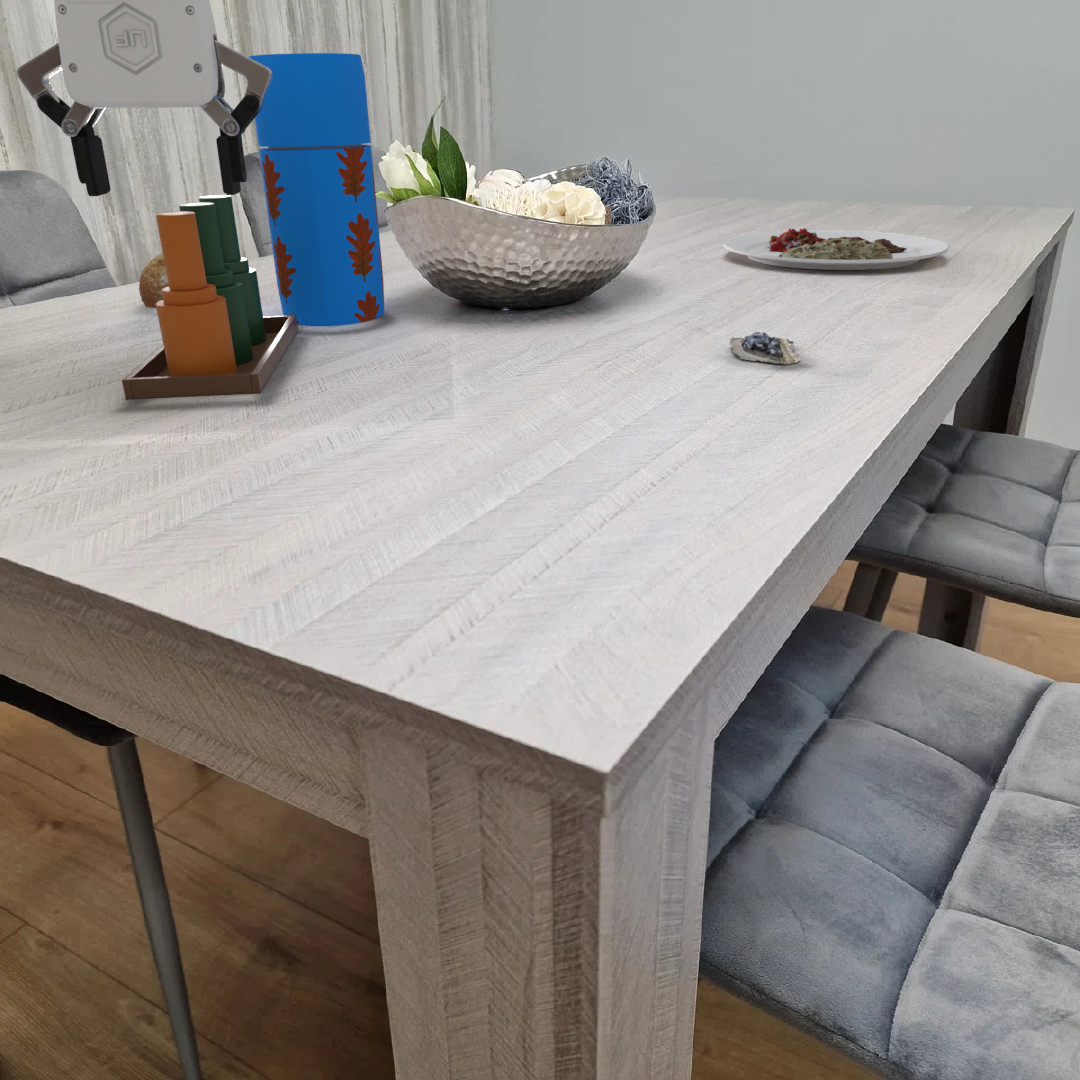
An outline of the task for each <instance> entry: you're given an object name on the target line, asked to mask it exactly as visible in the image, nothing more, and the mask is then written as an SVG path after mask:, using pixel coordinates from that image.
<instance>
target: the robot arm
mask: <svg viewBox="0 0 1080 1080" xmlns="http://www.w3.org/2000/svg"><path fill="white" fill-rule="evenodd" d="M53 4H54V5H53V6H54V15H55V24H56V32H57V33H56V35H57V43H55V44H54V45H52V46H51V47H48V49H46V50H45V51H43V52H41V53H39V54H38V55H36V56H35V57H33V58H32V59H30V60H29V61H27V62H26V63H23V64H22V65H21V66H19V67H18V68H17V71H16V75H17V78H18V79H19V81H20V82H21V84H22V85H23V86H24V88H25V89H26V90H27V92H28V93H29V95H30V96H31V98H32V99H33V100H34V101H35V102H36V104H37V105H36V106H37V107H38V109H39V110H40V112H42V114H44V115H45V116H46V117H48V118H49V119H50V120H51V121H52V122H53V123H55V125H57V126H58V127H59V128H60V129H61V131H62V132H63V134H64V135H66V137H67V136H68V137H69V138H70V142H71V147H72V153H73V157H74V162H75V167H76V173H77V178H78V181H79V182H80V184H84V185H85V187H86V192H87V195H88V196H89V197H99V196H102V195H106V194H109V193H110V192H111V189H112V188H111V184H110V183H111V182H110V177H109V171H108V165H107V162H106V156H105V152H104V145H103V140H102V138H101V137H100V136H99V134H97V135H96V134H95V129H94V128H95V126H96V125H97V123H98V121H99V120H100V118H101V117H102V116H103V115H102V114H103V113H104V112H105V110H106V108H109V109H110V108H115V109H116V108H117V109H119V108H120V109H122V108H125V109H126V108H130V109H131V108H132V109H133V108H135V109H136V108H138V109H139V108H140V109H141V108H142V109H143V108H149V109H150V108H151V109H152V108H154V109H155V108H156V109H157V108H161V109H162V108H164V109H165V108H201V109H202V110H203V112H205V114H206V115H207V116H208V117H209V118H210V119H211V120H212V121H213V123H215V124H216V125H217V127H219V135H218V136H217V137H216V141H215V143H216V149H217V157H218V163H219V171H220V177H221V186H222V192H223V194H225V195H230V196H235V195H237V194H239V193H241V191H242V187H241V183H246V182H247V169H246V159H245V151H244V144H243V136H242V135H243V134H244V133H245V132H246V130H247V129H248V127H249V126H250V124H251V123H252V122H253V121H254V120H255V119H254V118H255V117H256V116H257V115H258V113H259V112H260V111H261V109H262V106H263V102H264V100H265V98H266V95H267V92H268V89H269V87H270V84H271V81H272V78H273V73H272V71H271V70H270V69H269V68H267V67H265V66H264V65H262V64H260V63H258V62H256V61H254V60H252V59H251V58H249V56H247V55H245V54H243V53H241V52H240V51H237V50H235V49H233V48H232V47H230V46H228V45H226V44H224V43H223V42H221V41H219V39H218V38H219V37H218V34H217V29H216V24H215V20H214V15H213V11H212V5H211V1H210V0H53ZM224 67H226V68H228V69H230V70H232V71H234V72H236V73H237V74H239V75H241V76H243V77H244V78H245V79H246V80H247V87H246V91H245V92H244V93H245V94H244V95H243V96H244V97H243V98H242V99H241V100H240V102H239V103H238V104H237V105H235V107H234V109H233V107H231V105H230V104H229V103H228V102H227V101H226V99H225V98H224V97H225V93H226V83H225V74H224ZM60 71H62V75H63V81H64V84H65V88H66V91H67V93H68V96H69V97H70V99H72V101H73V103H72V105H71V106H70V105H68V104H67V103H66V102H65V101H64V100H63V99H61V97H59V96H58V95H57V94H56V92H55V91H54V88H53V87H52V85H51V84H50V79H51V78H52V76H55V74H57V73H59V72H60Z"/></svg>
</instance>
